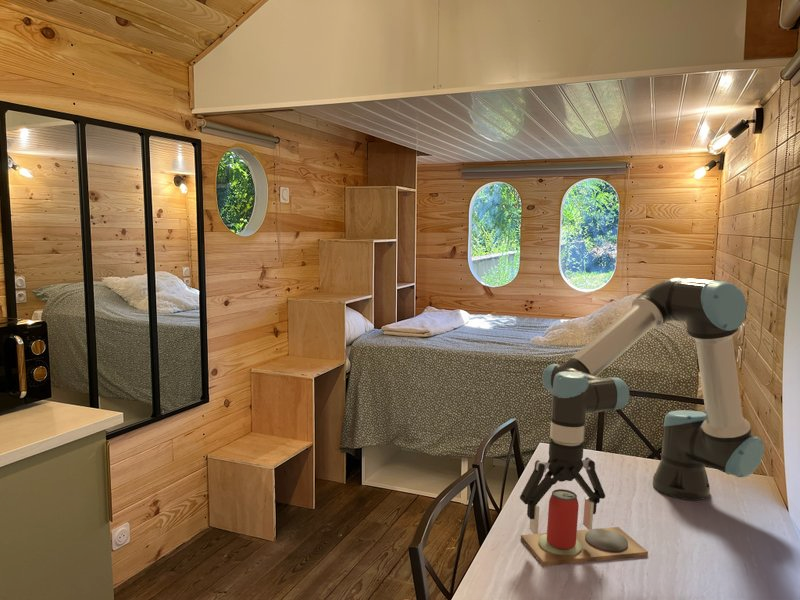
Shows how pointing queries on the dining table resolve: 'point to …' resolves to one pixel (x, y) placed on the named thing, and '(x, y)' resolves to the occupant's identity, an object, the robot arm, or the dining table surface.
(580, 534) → the seat board
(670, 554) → the dining table surface
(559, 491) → the beer can
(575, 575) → the dining table surface
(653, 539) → the dining table surface
